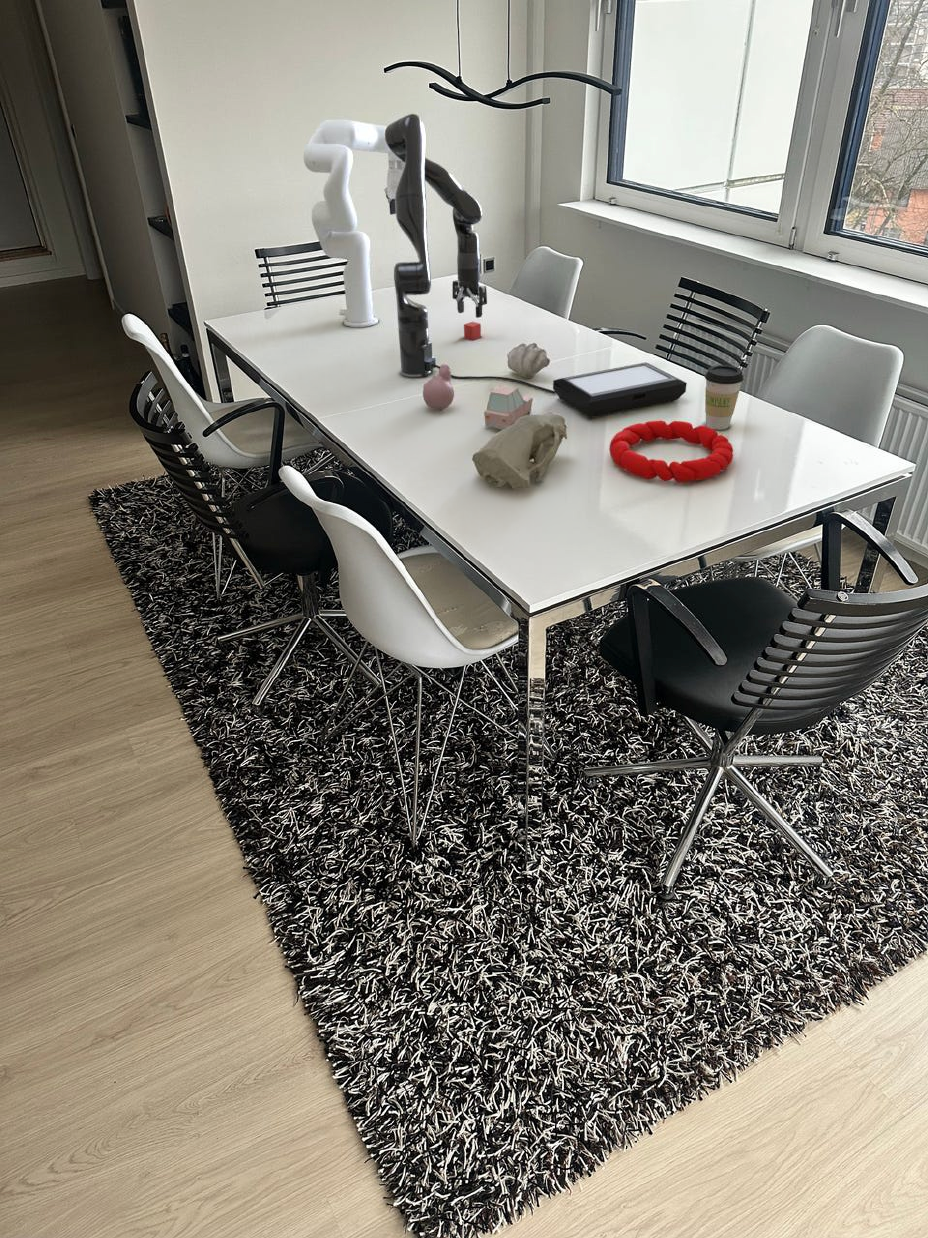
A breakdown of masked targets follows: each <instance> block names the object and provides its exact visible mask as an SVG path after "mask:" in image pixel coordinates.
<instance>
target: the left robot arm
mask: <svg viewBox="0 0 928 1238" xmlns="http://www.w3.org/2000/svg"><path fill="white" fill-rule="evenodd" d="M386 128H387V126H385V125H380V124H375V123H368V122H362V121H357V120H351V119H336V118H335V119H334V118H333V119H330V118H329V119H324V120H323V121H322V122H321V123H320V124H319V125H318V126H317V128H316V129H315V131H314V132H313V134H312V136H311V137H310V139H309V141H308V142H307V143H306V145H305V148H304V151H303V163H304V166H305V167H306V169H307V170H309V171H310V172H313V173H321V174H329V175H328V177H327V179H326V182H325V184H324V186H323V190H322V193H323V199H324V200H320V201H317V202H316V203H315V204H314V205H313V207H312V210H311V222H312V225H313V229H314V231H315V234H316V237H317V239H318V242H319V245H320V247H321V249H322V251H323V253H324V255H326V257H328V258H331V259H339V260H347V263H346V264H345V266H344V269H343V274H342V275H343V276H342V277H343V285H344V296H345V305H346V306H345V308H342V307H341V308H340V309H339V313H338V314H339V316H344V319H343V324H344V325H345V326H347V327H351V328H366V327H371V326H374V325H376V324H378V322H379V317H377V316H376V315H374V306H373V305H374V304H373V295H372V281H371V271H370V269H371V268H370V257H371V256H370V255H371V240H370V237H369V236H368V234H366V233H365V232H363V231H360V230H356V229H357V227H358V216H357V212H356V210H355V206H354V203H353V200H352V197H351V195H350V191H349V180H350V176H351V172H352V168H353V165H354V155H353V152H352V150H355V151H362V152H376V153H382V154H387V159H388V163H387V164H388V169H387V173H386V174H387V175H386V187H385V189H383V190H384V194H385V197H386V199H387V203H388V204H389V215H392V216H393V215H396V207H395V195H396V190H397V186H398V183H399V181H400V178H401V175H402V173H403V170H404V166H405V163H404V162H403V161H402V160H400V159H399V158H398V157H397V156H396V155H395V154H394V153H393V152H392V151H391V150H390V149H389V147H388V145H387V143H386V140H385V130H386Z"/></svg>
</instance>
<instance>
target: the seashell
mask: <svg viewBox="0 0 928 1238" xmlns="http://www.w3.org/2000/svg"><path fill="white" fill-rule="evenodd" d="M506 356H507V367H508V369H510V370H511V371H513V372H515V373H517V374H518V375H519V376H521V377H522V378H526V379H531V378H534V376H536V375H537V374H538V373H539V372H540V371H541V370H543V369H544V368H547V367H548V366H549V365H550V363H551V360H550V358H549V357H548V352H547V350H545V348H544V349H543V348H541V347H540V346H539V345H538V344H537V343H536V342H533V343H530V344H526V343H521V344H519V345H518V346H515V347H513V348H511V350H510V351H508V353H507V355H506Z"/></svg>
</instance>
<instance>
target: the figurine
mask: <svg viewBox="0 0 928 1238" xmlns="http://www.w3.org/2000/svg"><path fill="white" fill-rule="evenodd" d="M439 366H440V369H439V368H438V374H437V375H434V376H433V377H431V378H430V379H429V380H428V381H427V382H426V383H424V384H423V386H422V389H423V390H422V398H423V400H424V403H425V404H426V405H427V406H428V407H429V408H431V409H432V410H436V411H440V410H445V409H447V408H448V407H450V406H451V404H452V403H453V402H454V399H455V389H454V387H453V384H452V381H451V379H452V377H451V375H452V371H451V367H450V365H448V364H445V363H442V364H441V365H439Z"/></svg>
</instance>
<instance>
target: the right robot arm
mask: <svg viewBox="0 0 928 1238" xmlns="http://www.w3.org/2000/svg"><path fill="white" fill-rule="evenodd" d="M386 127H387V128H386V130H385V140H386V143H387V145H388V147H389V149H390V150H391V151H392V152H393V153H394V154H395V155H396V156H397V157H398V158H399V159H400V160H402V161H403V162H404V163H405V166H404V170H403V173H402V175H401V178H400V181H399V183H398V186H397V190H396V195H395V207H396V214H395V219H396V222H397V223H398V225H399V227H400V229H401V230H402V232H403V233H404V234H405V236H406V237H407V238H408V241H410V243H411V245H412V246H413V248H414V251H415V253H416V255H417V258H418V261H403V262H396V264H395V265H394V267H393V282H394V290H395V299H396V311H397V328H398V329H397V330H398V343H399V358H400V374H401V375H402V376H404V377H406V378H426V377H428V376H429V375H430V374H431V373H433V372H434V369H435V368H436V369H438V370H439V369H440V366H441V365H437V364H436V363H437V362H436V361H437V360H436V357H434V356H433V342H432V341H431V340H430V332H429V331H430V330H429V314H428V313H429V312H428V308H427V306H425V305H424V304H422V303H417V302H415V301H413V300H411V299H410V298H409V297H408V296H417V295H418V296H421V295H428V294H430V292H431V289H432V288H431V287H432V275H431V274H432V273H431V264H430V263H431V262H430V254H429V243H428V212H427V211H428V210H427V196H426V195H427V194H426V183H427V184H428V185H429V186H430V187H431V188H432V190H434V192H435V193H436V194H437V195H438V196H439V198H440V199H441V200H442V201H443V202H444V203H445V204H446V205H447V206H450V207H452V220H453V224H454V225H453V226H454V230H455V233H456V238H457V241H456V243H457V256H456V257H457V258H456V262H457V263H456V264H457V279H455V280H453V281H452V285H451V286H452V295H451V296H452V300H455V301H456V304H457V305H456V307H457V309H456V310H457V312H458V314H463V313H464V312H465V301H464V300H465V298H469V299H471V301H472V302H473V303H474V305H475V318H477V319H480V318H482V316H483V306H484V305H487V304H488V293H487V285H480V280H481V256H480V237H479V233H478V232H477V231H476V230H475V229H474V225H477V224H479V222H480V221H481V220H482V217H483V209H482V206H481V205H480V203H479V201H478V200H477V199H476V198H475V197H474V196H473V195H471V193H469V191H467V190H465V188H464V187H462V185H461V184H460V182H459V181H458V180H457V179H456V178H455V176H453V174H452V173H451V172H450V171H449V170H448V169H447V168H446V167H444V166H442V165H441V164H439V163H437V162H435V161H433V160H431V159H430V158H427V157H426V154H427V153H426V152H427V133H426V127H425V124H424V122H423V120H422V118H421V117H420V116H419V115H417V114H415V113H410V114H409V113H408V114H407V115H404V116H403V117H401V118H399V119H397V120H395V121H393V122H391V123H390V124H388V125H387V126H386ZM452 378H453V379H456V380H457V379H458V380H488V379H489V380H503V381H510V382H515V383H520V384H523V385H526V386H528V387H531V388H534V389H538V390H541V391H545V392H548V393H550V394H554V395H556V392H555V391H554V390H553V389H549V388H546V387H543V386H539V385H536V384H533V383H531V382H528V381H524V380H520V379H516V378H513V377H504V376H494V375H493V376H492V375H487V376H482V375H481V376H472V375H471V376H468V375H467V376H458V375H454V374H451V379H452Z"/></svg>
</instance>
